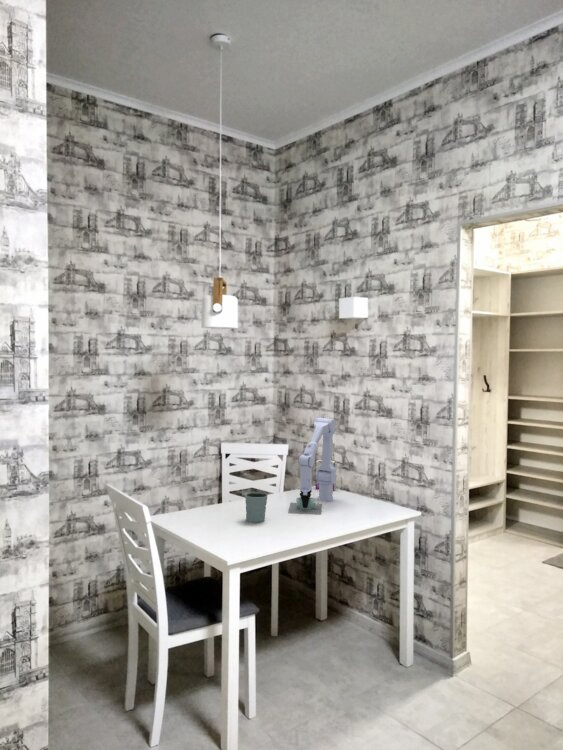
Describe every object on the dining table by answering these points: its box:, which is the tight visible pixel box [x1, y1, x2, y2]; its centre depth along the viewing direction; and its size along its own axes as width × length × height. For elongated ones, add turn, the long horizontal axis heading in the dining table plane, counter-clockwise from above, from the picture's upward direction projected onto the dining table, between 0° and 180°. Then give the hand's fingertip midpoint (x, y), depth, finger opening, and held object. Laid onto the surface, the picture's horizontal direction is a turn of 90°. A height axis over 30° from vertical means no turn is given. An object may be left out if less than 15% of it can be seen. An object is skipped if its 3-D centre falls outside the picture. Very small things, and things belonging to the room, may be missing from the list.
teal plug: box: [295, 496, 320, 510], centre depth 287 cm, size 11×4×5 cm, turn 86°
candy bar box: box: [315, 459, 337, 492], centre depth 330 cm, size 11×5×16 cm, turn 72°
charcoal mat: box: [287, 502, 323, 516], centre depth 287 cm, size 20×16×1 cm
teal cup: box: [245, 491, 268, 524], centre depth 266 cm, size 10×10×12 cm
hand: (305, 506), depth 287 cm, fingers open, 5 cm apart
